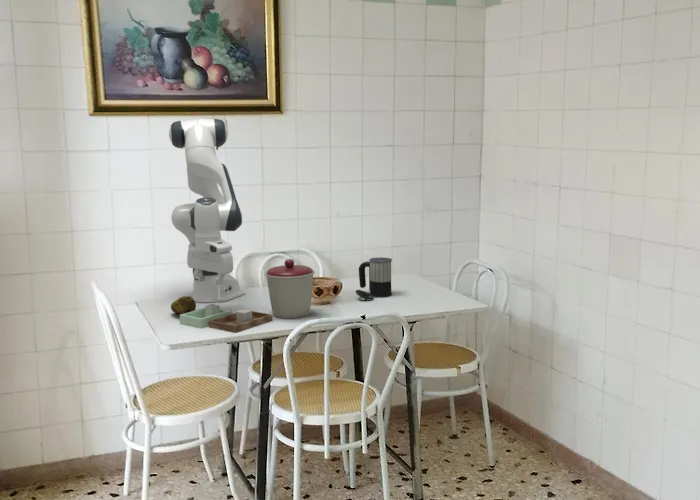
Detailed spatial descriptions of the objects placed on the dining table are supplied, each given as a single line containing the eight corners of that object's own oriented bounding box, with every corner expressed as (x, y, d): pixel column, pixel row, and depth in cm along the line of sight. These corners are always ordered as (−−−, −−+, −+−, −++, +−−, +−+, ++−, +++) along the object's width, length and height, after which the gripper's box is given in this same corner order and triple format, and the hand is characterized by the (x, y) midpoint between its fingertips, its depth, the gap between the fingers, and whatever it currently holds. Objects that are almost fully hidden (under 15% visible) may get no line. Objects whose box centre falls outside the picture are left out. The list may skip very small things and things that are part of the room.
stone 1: (205, 319, 262) (204, 306, 261) (213, 317, 265) (212, 304, 264) (212, 321, 259) (211, 307, 259) (220, 319, 262) (219, 305, 262)
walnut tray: (246, 317, 266) (246, 309, 266) (272, 322, 258) (272, 314, 258) (208, 329, 252) (208, 320, 252) (235, 335, 244) (235, 326, 244)
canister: (260, 313, 272) (257, 257, 268) (306, 308, 279) (304, 253, 275) (275, 325, 255) (273, 265, 252) (323, 318, 262) (322, 260, 259)
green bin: (210, 317, 268) (209, 306, 268) (231, 321, 262) (230, 310, 261) (180, 326, 257) (179, 314, 257) (201, 330, 251) (200, 319, 250)
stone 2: (244, 323, 256) (244, 309, 255) (252, 325, 253) (251, 310, 253) (236, 325, 253) (236, 311, 252) (244, 327, 250) (244, 313, 250)
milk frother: (393, 292, 301) (392, 257, 298) (391, 301, 285) (390, 264, 283) (358, 292, 302) (357, 257, 300) (354, 301, 287) (353, 264, 285)
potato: (192, 311, 278) (191, 290, 277) (198, 319, 266) (196, 297, 265) (170, 313, 275) (169, 292, 274) (174, 321, 264) (173, 299, 262)
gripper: (181, 242, 261) (184, 280, 264) (221, 249, 249) (223, 288, 252) (195, 240, 266) (197, 277, 269) (235, 246, 254) (237, 284, 257)
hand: (210, 282), depth 260 cm, fingers open, 8 cm apart
